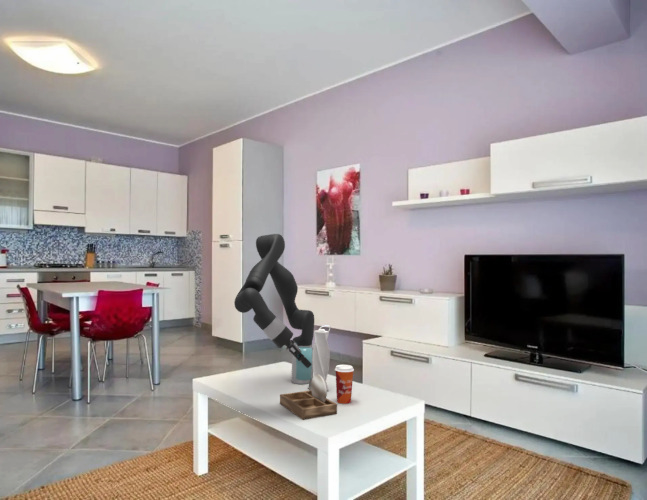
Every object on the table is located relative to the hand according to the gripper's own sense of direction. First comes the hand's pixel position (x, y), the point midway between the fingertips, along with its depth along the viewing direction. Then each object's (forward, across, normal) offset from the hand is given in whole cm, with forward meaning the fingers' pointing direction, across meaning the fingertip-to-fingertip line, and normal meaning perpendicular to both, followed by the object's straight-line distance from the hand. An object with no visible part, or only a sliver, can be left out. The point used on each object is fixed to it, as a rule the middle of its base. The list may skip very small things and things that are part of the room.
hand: (308, 364), depth 165 cm
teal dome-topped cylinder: (+2, 0, +5) cm, 5 cm away
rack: (+13, +3, +12) cm, 18 cm away
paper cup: (+24, +10, +1) cm, 26 cm away
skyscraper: (+18, +27, +6) cm, 33 cm away
